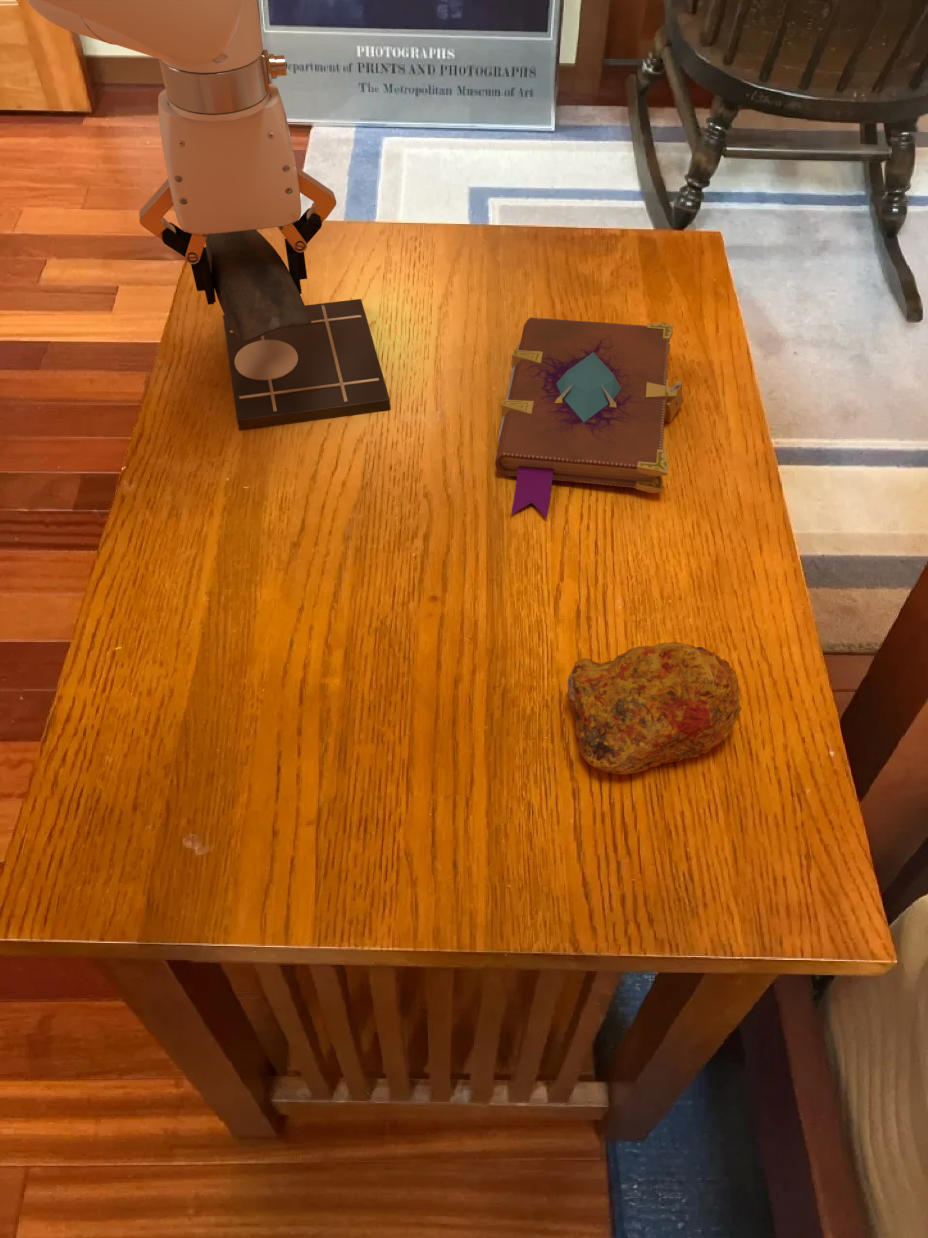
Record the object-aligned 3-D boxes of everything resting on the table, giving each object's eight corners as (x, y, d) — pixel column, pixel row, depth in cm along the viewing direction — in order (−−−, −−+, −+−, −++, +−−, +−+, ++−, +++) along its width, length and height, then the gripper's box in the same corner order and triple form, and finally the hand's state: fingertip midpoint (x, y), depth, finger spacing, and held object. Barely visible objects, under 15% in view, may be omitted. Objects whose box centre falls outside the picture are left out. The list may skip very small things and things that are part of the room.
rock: (656, 811, 68) (573, 775, 61) (611, 725, 73) (532, 684, 67) (779, 718, 64) (704, 669, 57) (721, 635, 70) (648, 582, 63)
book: (484, 520, 80) (483, 478, 76) (521, 344, 95) (522, 301, 91) (676, 539, 78) (686, 497, 74) (683, 356, 93) (692, 313, 89)
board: (239, 430, 85) (236, 419, 84) (224, 324, 94) (222, 313, 93) (390, 409, 87) (389, 398, 86) (361, 308, 96) (361, 297, 95)
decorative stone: (319, 345, 80) (314, 303, 77) (246, 363, 78) (238, 321, 75) (259, 241, 89) (252, 199, 86) (192, 255, 87) (183, 213, 84)
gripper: (325, 47, 72) (343, 256, 86) (94, 64, 69) (152, 277, 84) (340, 91, 68) (357, 303, 82) (94, 111, 65) (155, 327, 79)
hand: (253, 288), depth 83 cm, fingers closed on decorative stone, 6 cm apart
